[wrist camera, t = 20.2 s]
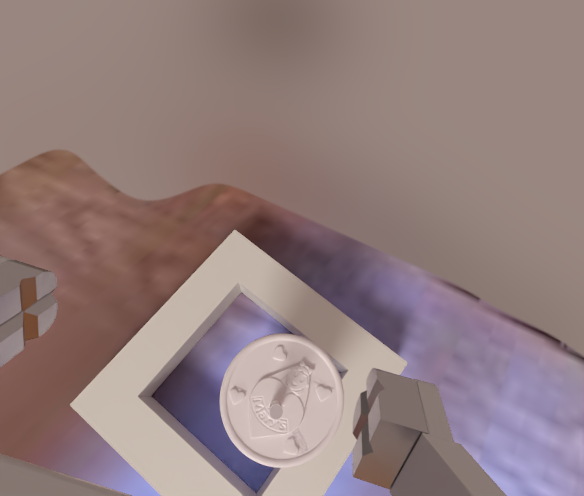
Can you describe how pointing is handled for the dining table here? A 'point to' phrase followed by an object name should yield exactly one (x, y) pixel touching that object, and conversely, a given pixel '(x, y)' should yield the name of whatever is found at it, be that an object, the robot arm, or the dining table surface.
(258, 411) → the smoothie
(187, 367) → the dining table surface
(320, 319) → the beige square frame
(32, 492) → the robot arm
